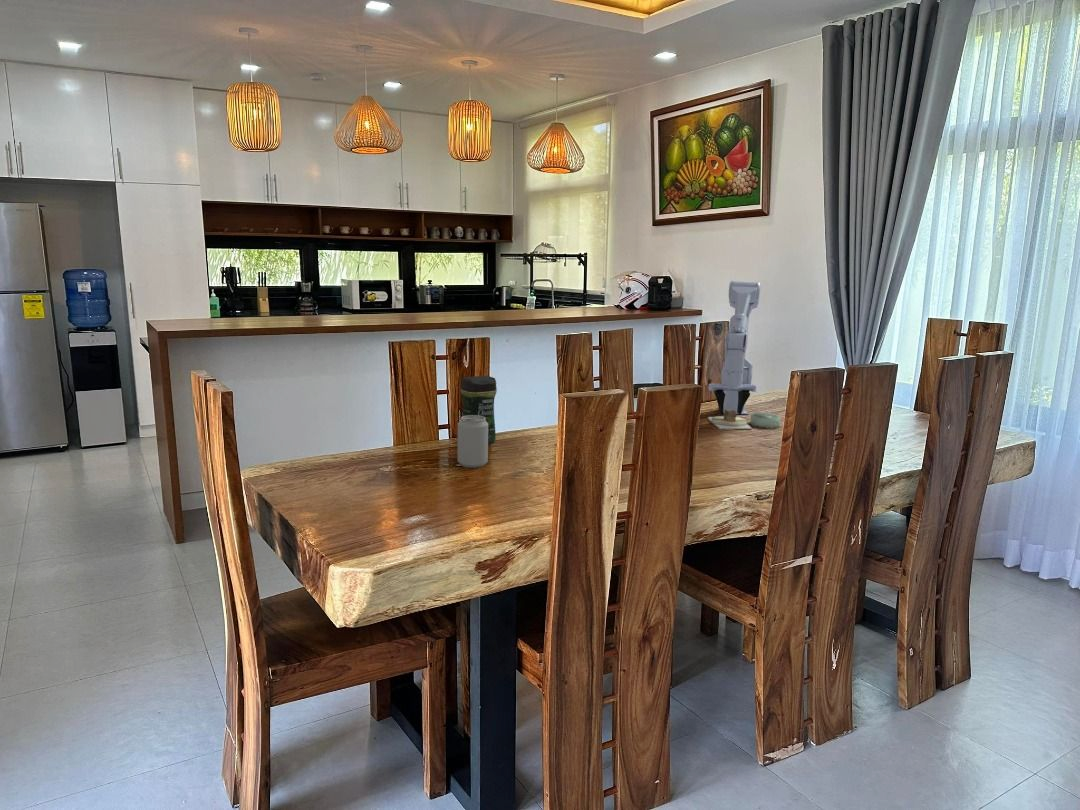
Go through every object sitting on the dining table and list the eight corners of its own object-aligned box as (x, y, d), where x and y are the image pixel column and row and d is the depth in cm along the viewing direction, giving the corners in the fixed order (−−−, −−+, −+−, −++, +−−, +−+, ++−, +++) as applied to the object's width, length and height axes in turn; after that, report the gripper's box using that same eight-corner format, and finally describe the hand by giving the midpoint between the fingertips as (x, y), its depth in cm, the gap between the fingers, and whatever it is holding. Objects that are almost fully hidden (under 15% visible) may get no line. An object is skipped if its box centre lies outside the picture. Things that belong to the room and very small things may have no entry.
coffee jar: (470, 448, 196) (470, 380, 192) (455, 441, 202) (455, 375, 198) (500, 443, 202) (501, 377, 198) (485, 437, 208) (486, 372, 204)
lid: (707, 418, 238) (708, 406, 237) (740, 418, 238) (741, 407, 237) (717, 426, 227) (718, 414, 226) (752, 426, 227) (753, 414, 227)
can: (451, 463, 182) (451, 416, 179) (473, 458, 187) (474, 412, 185) (471, 470, 177) (471, 422, 174) (494, 464, 182) (494, 417, 180)
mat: (707, 418, 239) (707, 417, 239) (737, 419, 240) (738, 417, 239) (719, 429, 225) (720, 427, 225) (751, 429, 226) (752, 427, 226)
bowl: (746, 421, 237) (747, 412, 237) (773, 421, 238) (774, 412, 237) (755, 427, 228) (756, 418, 228) (783, 428, 229) (784, 419, 228)
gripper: (714, 372, 225) (710, 415, 228) (760, 373, 225) (756, 416, 228) (708, 368, 232) (704, 410, 234) (753, 369, 232) (749, 411, 235)
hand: (730, 413), depth 232 cm, fingers open, 5 cm apart
